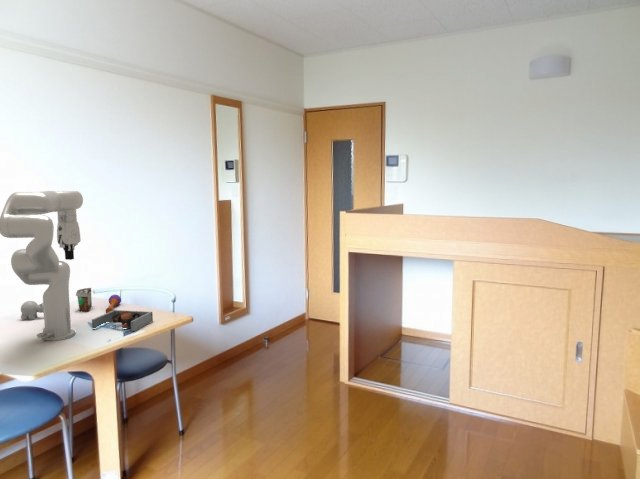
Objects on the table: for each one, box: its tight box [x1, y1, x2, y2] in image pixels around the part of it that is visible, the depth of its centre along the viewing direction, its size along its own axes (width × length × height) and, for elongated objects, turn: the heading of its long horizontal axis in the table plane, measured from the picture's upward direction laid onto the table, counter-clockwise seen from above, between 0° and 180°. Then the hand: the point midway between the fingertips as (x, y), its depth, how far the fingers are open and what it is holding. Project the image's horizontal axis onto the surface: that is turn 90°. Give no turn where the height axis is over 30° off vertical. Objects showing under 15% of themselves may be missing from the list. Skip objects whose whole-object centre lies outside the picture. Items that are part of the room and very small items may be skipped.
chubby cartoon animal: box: [20, 300, 44, 321], centre depth 224 cm, size 7×12×8 cm, turn 101°
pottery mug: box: [111, 310, 141, 329], centre depth 212 cm, size 12×10×8 cm
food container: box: [75, 287, 93, 313], centre depth 239 cm, size 12×6×10 cm, turn 17°
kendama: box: [105, 294, 122, 314], centre depth 242 cm, size 6×6×20 cm
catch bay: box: [91, 309, 154, 332], centre depth 213 cm, size 16×19×4 cm
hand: (69, 259), depth 216 cm, fingers closed
